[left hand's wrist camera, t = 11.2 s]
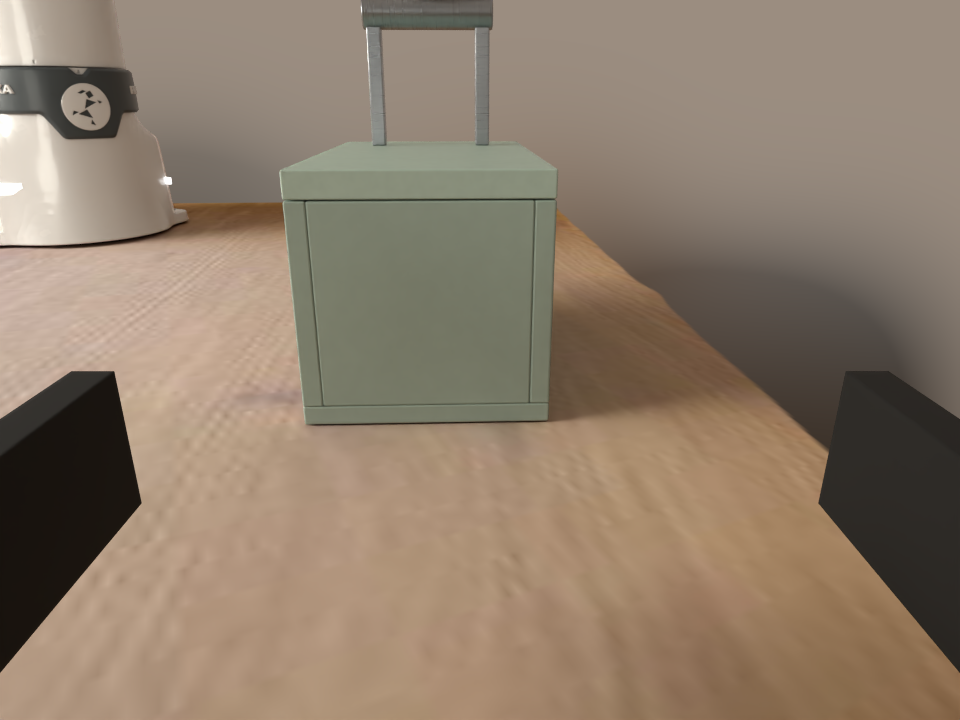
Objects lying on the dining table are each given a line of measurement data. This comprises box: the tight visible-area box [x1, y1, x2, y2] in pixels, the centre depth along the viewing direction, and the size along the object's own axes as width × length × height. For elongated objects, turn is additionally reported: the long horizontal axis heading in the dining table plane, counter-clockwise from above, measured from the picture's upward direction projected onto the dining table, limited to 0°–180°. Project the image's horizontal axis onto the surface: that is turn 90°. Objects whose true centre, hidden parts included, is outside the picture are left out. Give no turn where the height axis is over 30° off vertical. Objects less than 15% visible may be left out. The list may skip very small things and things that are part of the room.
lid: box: [279, 0, 558, 200], centre depth 30 cm, size 16×10×8 cm, turn 2°
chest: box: [283, 199, 557, 424], centre depth 32 cm, size 15×10×9 cm, turn 2°
